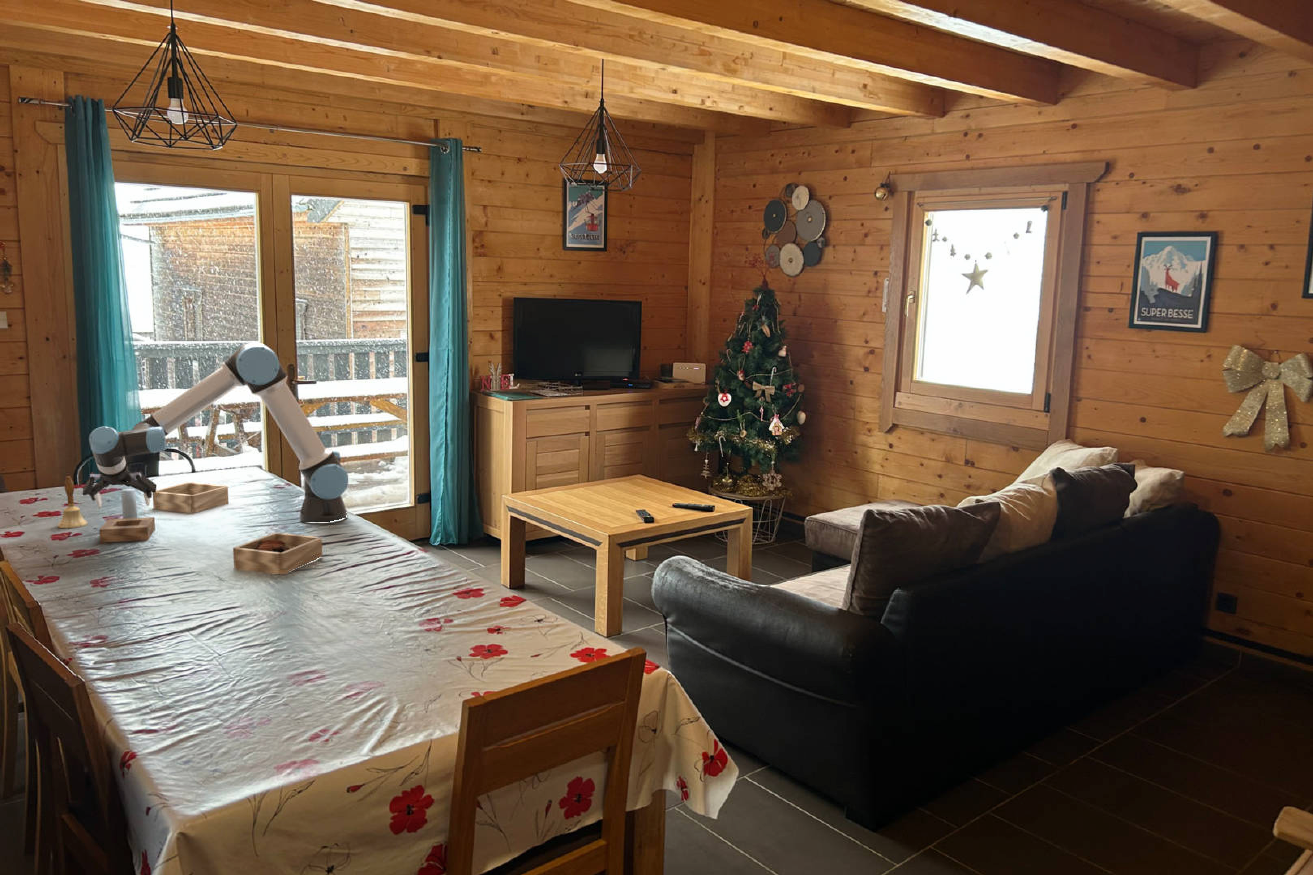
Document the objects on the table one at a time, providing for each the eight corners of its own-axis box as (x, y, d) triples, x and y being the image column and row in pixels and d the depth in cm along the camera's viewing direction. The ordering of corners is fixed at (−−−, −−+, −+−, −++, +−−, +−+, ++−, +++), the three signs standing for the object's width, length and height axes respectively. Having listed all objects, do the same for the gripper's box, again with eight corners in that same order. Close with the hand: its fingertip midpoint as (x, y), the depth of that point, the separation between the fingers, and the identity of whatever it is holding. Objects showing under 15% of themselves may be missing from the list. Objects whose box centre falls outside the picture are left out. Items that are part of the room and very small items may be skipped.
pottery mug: (244, 569, 270) (247, 541, 273) (269, 576, 279) (272, 548, 282) (277, 563, 266) (280, 534, 269) (302, 570, 274) (304, 542, 277)
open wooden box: (323, 557, 282) (323, 537, 281) (282, 575, 264) (282, 554, 263) (275, 551, 286) (275, 532, 285) (232, 569, 269) (231, 548, 268)
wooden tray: (229, 502, 345) (228, 486, 344) (193, 513, 329) (193, 496, 328) (189, 498, 350) (188, 482, 349) (152, 508, 334) (151, 491, 333)
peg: (140, 525, 312) (138, 489, 310) (130, 528, 308) (128, 491, 306) (130, 524, 313) (128, 488, 311) (120, 527, 309) (118, 490, 307)
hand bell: (77, 528, 306) (73, 479, 304) (51, 527, 306) (47, 478, 304) (93, 522, 314) (89, 474, 312) (68, 521, 314) (64, 473, 312)
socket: (155, 529, 308) (154, 517, 307) (148, 539, 295) (147, 527, 295) (109, 531, 303) (108, 519, 303) (100, 542, 291) (99, 529, 291)
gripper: (63, 477, 284) (78, 515, 300) (157, 474, 292) (167, 511, 308) (66, 456, 288) (80, 494, 304) (159, 453, 296) (168, 491, 313)
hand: (124, 503), depth 306 cm, fingers open, 13 cm apart
